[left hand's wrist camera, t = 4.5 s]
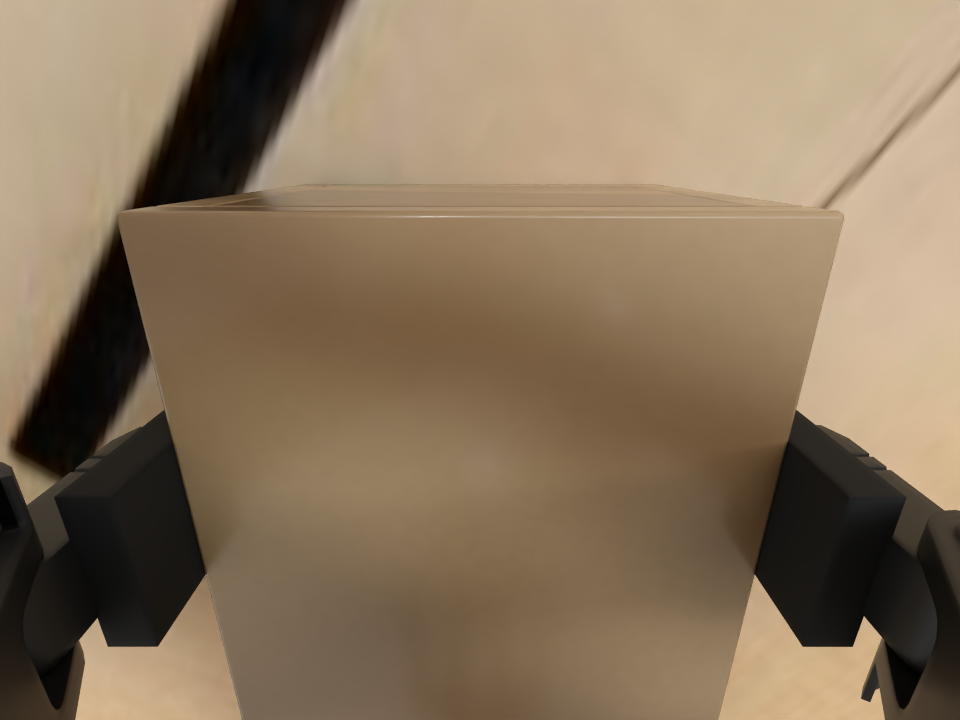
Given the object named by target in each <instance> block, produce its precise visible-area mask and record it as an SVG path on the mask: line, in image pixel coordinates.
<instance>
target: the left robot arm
mask: <svg viewBox="0 0 960 720" xmlns="http://www.w3.org/2000/svg"><path fill="white" fill-rule="evenodd" d="M205 574H206V573H205V569H204V565H203V561H202V557H201V553H200V549H199V545H198V541H197V537H196V533H195V529H194V525H193V521H192V517H191V513H190V509H189V505H188V501H187V497H186V493H185V489H184V485H183V481H182V477H181V473H180V469H179V465H178V461H177V457H176V453H175V449H174V445H173V441H172V437H171V433H170V429H169V425H168V421H167V417H166V413H165V410H164V411H162V412H161V413H160V414H159V415H157V416H156V417H155V418H153V419H152V420H151V421H150V422H148V423H147V424H146V425H145V426H143V427H139V428H137V429H135V430H133V431H131V432H129V433H127V434H125V435H123V436H120V437H118V438H116V439H114V440H112V441H111V442H110V443H108V444H107V445H106V446H104V447H103V448H102V449H100V450H99V451H98V452H96V453H95V454H94V455H93V456H92V459H87V460H86V461H85V462H83V463H82V464H81V465H79V466H78V467H77V468H75V472H70V473H69V474H68V475H66V476H65V477H64V478H62V479H61V480H60V481H58V482H57V483H56V484H54V485H53V486H52V487H51V488H49V489H48V490H47V491H45V492H44V493H43V494H41V495H40V496H39V497H37V498H36V499H35V500H33V501H32V502H31V503H29V504H28V505H26V503H25V500H24V498H23V495H22V492H21V490H20V487H19V485H18V482H17V480H16V477H15V474H14V472H13V469H12V467H10V466H8V465H6V464H4V463H2V462H0V720H75V717H76V712H77V706H78V700H79V694H80V688H81V683H82V677H83V671H84V665H85V660H84V653H83V650H82V647H81V645H80V642H79V639H80V638H81V637H82V636H83V634H84V633H85V632H86V631H87V630H88V628H89V627H90V626H91V625H92V624H93V622H94V621H95V620H96V619H97V618H98V620H99V623H100V626H101V629H102V631H103V634H104V637H105V640H106V642H107V645H108V647H158V645H159V644H160V642H161V641H162V639H163V638H164V636H165V635H166V633H167V632H168V630H169V629H170V627H171V626H172V624H173V623H174V621H175V620H176V618H177V617H178V615H179V614H180V612H181V611H182V609H183V608H184V606H185V605H186V603H187V602H188V600H189V599H190V597H191V596H192V594H193V593H194V591H195V590H196V588H197V587H198V585H199V584H200V582H201V581H202V579H203V577H204V576H205ZM755 575H756V577H757V578H758V580H759V581H760V583H761V584H762V586H763V587H764V589H765V590H766V592H767V593H768V595H769V596H770V598H771V599H772V601H773V602H774V604H775V605H776V607H777V608H778V610H779V611H780V613H781V614H782V616H783V617H784V619H785V620H786V622H787V623H788V625H789V626H790V628H791V629H792V631H793V632H794V634H795V635H796V637H797V638H798V640H799V642H800V643H801V645H802V646H803V647H853V644H854V642H855V639H856V636H857V633H858V631H859V628H860V625H861V622H862V620H863V617H864V616H865V618H866V619H867V620H868V621H869V622H870V624H871V625H872V626H873V627H874V628H875V629H876V631H877V632H878V633H879V634H880V635H881V637H882V639H881V642H880V645H879V647H878V650H877V652H876V655H875V657H874V660H873V663H872V665H871V668H870V670H869V673H868V675H867V678H866V681H865V683H864V686H863V690H862V696H861V699H863V700H866V701H868V702H870V701H871V699H872V696H873V694H874V691H875V690H876V689H878V688H880V693H881V698H882V704H883V710H884V716H885V720H960V511H958V510H948V511H944V510H943V509H942V508H940V507H939V506H938V505H936V504H935V503H934V502H932V501H931V500H930V499H928V498H927V497H926V496H924V495H923V494H922V493H920V492H919V491H918V490H916V489H915V488H914V487H912V486H911V485H910V484H908V483H907V482H906V481H904V480H903V479H902V478H900V477H899V476H898V475H896V474H895V473H894V472H893V471H891V470H887V469H886V466H885V465H883V464H882V463H881V462H879V461H878V460H877V459H875V458H874V457H869V453H867V452H866V451H865V450H863V449H862V448H861V447H859V446H858V445H857V444H855V443H854V442H853V441H851V440H850V439H849V438H847V437H845V436H843V435H840V434H838V433H836V432H834V431H832V430H830V429H828V428H826V427H823V426H821V425H815V424H813V423H812V422H811V421H810V420H808V419H807V418H806V417H805V416H803V415H802V414H801V413H800V412H798V411H797V410H796V411H795V415H794V419H793V423H792V427H791V431H790V435H789V439H788V443H787V447H786V451H785V455H784V459H783V463H782V467H781V471H780V475H779V479H778V483H777V487H776V491H775V495H774V499H773V503H772V507H771V511H770V515H769V519H768V523H767V527H766V531H765V535H764V539H763V543H762V547H761V551H760V555H759V559H758V563H757V567H756V571H755Z"/></svg>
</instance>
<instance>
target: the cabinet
mask: <svg viewBox="0 0 960 720" xmlns="http://www.w3.org/2000/svg"><path fill="white" fill-rule="evenodd" d="M843 220H844V214H843V213H841V212H839V211H834V210H827V209H820V208H813V207H803V206H799V205H792V204H785V203H778V202H771V201H764V200H757V199H750V198H743V197H736V196H730V195H723V194H716V193H709V192H702V191H695V190H688V189H681V188H674V187H667V186H661V185H299V186H293V187H286V188H279V189H272V190H265V191H258V192H251V193H244V194H237V195H230V196H223V197H216V198H209V199H202V200H195V201H188V202H181V203H174V204H167V205H160V206H157V207H147V208H140V209H133V210H126V211H122V212H120V213H118V214H117V221H118V225H119V229H120V233H121V237H122V241H123V245H124V249H125V253H126V257H127V261H128V265H129V269H130V273H131V277H132V281H133V285H134V289H135V293H136V297H137V301H138V305H139V309H140V313H141V317H142V321H143V325H144V329H145V333H146V337H147V341H148V345H149V349H150V353H151V357H152V361H153V365H154V369H155V373H156V377H157V381H158V385H159V389H160V393H161V397H162V401H163V405H164V409H165V413H166V417H167V421H168V425H169V429H170V433H171V437H172V441H173V445H174V449H175V453H176V457H177V461H178V465H179V469H180V473H181V477H182V481H183V485H184V489H185V493H186V497H187V501H188V505H189V509H190V513H191V517H192V521H193V525H194V529H195V533H196V537H197V541H198V545H199V549H200V553H201V557H202V561H203V565H204V569H205V573H206V577H207V581H208V585H209V589H210V593H211V597H212V601H213V604H214V608H215V612H216V616H217V620H218V624H219V628H220V632H221V636H222V640H223V644H224V648H225V652H226V656H227V660H228V664H229V668H230V672H231V676H232V680H233V684H234V688H235V692H236V696H237V700H238V704H239V708H240V712H241V716H242V720H718V718H719V714H720V710H721V706H722V702H723V698H724V694H725V690H726V686H727V682H728V678H729V674H730V670H731V666H732V662H733V658H734V654H735V650H736V646H737V642H738V639H739V635H740V631H741V627H742V623H743V619H744V615H745V611H746V607H747V603H748V599H749V595H750V591H751V587H752V583H753V579H754V575H755V571H756V567H757V563H758V559H759V555H760V551H761V547H762V543H763V539H764V535H765V531H766V527H767V523H768V519H769V515H770V511H771V507H772V503H773V499H774V495H775V491H776V487H777V483H778V479H779V475H780V471H781V467H782V463H783V459H784V455H785V451H786V447H787V443H788V439H789V435H790V431H791V427H792V423H793V419H794V415H795V411H796V407H797V403H798V399H799V395H800V392H801V388H802V384H803V380H804V376H805V372H806V368H807V364H808V360H809V356H810V352H811V348H812V344H813V340H814V336H815V332H816V328H817V324H818V320H819V316H820V312H821V308H822V304H823V300H824V296H825V292H826V288H827V284H828V280H829V276H830V272H831V268H832V264H833V260H834V256H835V252H836V248H837V244H838V240H839V236H840V232H841V228H842V224H843Z"/></svg>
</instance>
